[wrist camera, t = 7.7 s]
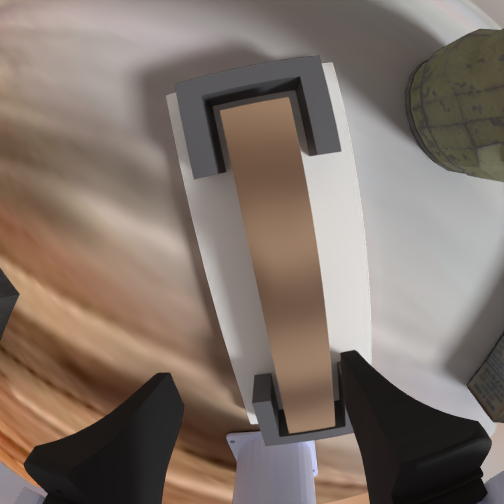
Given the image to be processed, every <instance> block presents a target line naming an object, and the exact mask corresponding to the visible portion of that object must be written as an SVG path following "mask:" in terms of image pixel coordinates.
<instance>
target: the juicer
mask: <svg viewBox="0 0 504 504" xmlns="http://www.w3.org/2000/svg"><path fill="white" fill-rule="evenodd" d="M18 297H19V293H18V291H17V290H16V289H15V287H14V286H13V285H12V284H11V282H10V281H9V280H8V278H7V277H6V275H5V274H4V273H3V271H2V270H1V268H0V339H1V337H2V334H3V332H4V329H5V327H6V324H7V322H8V319H9V317H10V315H11V312H12V310H13V308H14V305H15V303H16V301H17V299H18Z"/></svg>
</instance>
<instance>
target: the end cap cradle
mask: <svg viewBox="0 0 504 504" xmlns="http://www.w3.org/2000/svg"><path fill="white" fill-rule="evenodd" d="M174 85H175V91H176V92H175V93H172V94H169V95H166V99H167V104H168V109H169V115H170V120H171V125H172V130H173V135H174V140H175V145H176V149H177V154H178V159H179V164H180V168H181V173H182V177H183V182H184V186H185V191H186V195H187V199H188V204H189V208H190V212H191V216H192V220H193V225H194V229H195V233H196V237H197V241H198V245H199V249H200V253H201V257H202V261H203V264H204V268H205V272H206V276H207V280H208V283H209V287H210V291H211V295H212V298H213V302H214V305H215V309H216V313H217V316H218V320H219V323H220V327H221V330H222V334H223V337H224V340H225V344H226V347H227V351H228V354H229V357H230V361H231V364H232V367H233V370H234V374H235V377H236V380H237V383H238V387H239V390H240V393H241V396H242V399H243V402H244V405H245V408H246V411H247V414H248V418H249V421H250V424H259V428H260V431H261V434H262V437H263V440H264V443H265V446H274V445H283V444H291V443H299V442H306V441H313V440H319V439H325V438H330V437H336V436H341V435H346V434H350V433H354V431H353V428H352V425H351V422H350V419H349V416H348V413H347V410H346V406H345V402H344V397H343V392H342V378H341V356H340V353H341V352H346V351H351V350H356V351H358V353H359V354H360V355H361V356H362V357H363V358H364V359H365V360H366V361H367V362H368V363H369V364H370V365H371V308H370V288H369V273H368V260H367V249H366V239H365V230H364V221H363V213H362V205H361V198H360V191H359V184H358V178H357V171H356V165H355V160H354V154H353V149H352V143H351V138H350V133H349V128H348V123H347V119H346V114H345V109H344V105H343V101H342V97H341V92H340V88H339V84H338V80H337V76H336V73H335V69H334V65H333V62H328V63H321V59H320V56H319V55H318V56H309V57H300V58H293V59H285V60H279V61H272V62H266V63H261V64H255V65H250V66H245V67H240V68H236V69H231V70H227V71H222V72H218V73H214V74H210V75H206V76H202V77H199V78H195V79H191V80H188V81H184V82H181V83H178V84H174ZM286 97H289V100H290V104H291V108H292V113H293V117H294V122H295V126H296V131H297V136H298V141H299V146H300V151H301V156H302V161H303V166H304V171H305V176H306V182H307V187H308V193H309V199H310V205H311V210H312V216H313V223H314V229H315V235H316V242H317V249H318V255H319V262H320V270H321V277H322V285H323V293H324V301H325V309H326V318H327V327H328V337H329V347H330V358H331V370H332V383H333V397H334V413H335V426H333V427H328V428H322V429H317V430H310V431H304V432H297V433H289V431H288V426H287V422H286V417H285V412H284V408H283V403H282V399H281V394H280V389H279V385H278V380H277V376H276V371H275V366H274V362H273V357H272V352H271V348H270V343H269V338H268V334H267V329H266V324H265V320H264V315H263V311H262V306H261V301H260V297H259V292H258V287H257V283H256V278H255V273H254V269H253V264H252V259H251V255H250V250H249V245H248V241H247V236H246V231H245V227H244V222H243V217H242V212H241V208H240V203H239V198H238V194H237V189H236V184H235V180H234V175H233V170H232V165H231V161H230V156H229V151H228V147H227V142H226V137H225V132H224V128H223V123H222V118H221V114H220V111H221V110H225V109H229V108H234V107H238V106H243V105H248V104H253V103H258V102H263V101H268V100H274V99H280V98H286Z"/></svg>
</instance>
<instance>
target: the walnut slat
mask: <svg viewBox="0 0 504 504" xmlns="http://www.w3.org/2000/svg"><path fill="white" fill-rule="evenodd" d="M220 114H221V118H222V123H223V128H224V132H225V137H226V142H227V147H228V151H229V156H230V161H231V165H232V170H233V175H234V180H235V184H236V189H237V194H238V198H239V203H240V208H241V212H242V217H243V222H244V227H245V231H246V236H247V241H248V245H249V250H250V255H251V259H252V264H253V269H254V273H255V278H256V283H257V287H258V292H259V297H260V301H261V306H262V311H263V315H264V320H265V324H266V329H267V334H268V338H269V343H270V348H271V352H272V357H273V362H274V366H275V371H276V376H277V380H278V385H279V389H280V394H281V399H282V403H283V408H284V412H285V417H286V422H287V426H288V431H289V433H297V432H304V431H310V430H317V429H322V428H328V427H333V426H335V413H334V397H333V383H332V370H331V358H330V347H329V337H328V327H327V318H326V309H325V301H324V293H323V285H322V277H321V270H320V262H319V255H318V249H317V242H316V235H315V229H314V223H313V216H312V210H311V205H310V199H309V193H308V187H307V182H306V176H305V171H304V166H303V161H302V156H301V151H300V146H299V141H298V136H297V131H296V126H295V122H294V117H293V113H292V108H291V104H290V100H289V97H286V98H280V99H274V100H268V101H263V102H258V103H253V104H248V105H243V106H238V107H234V108H229V109H225V110H221V111H220Z"/></svg>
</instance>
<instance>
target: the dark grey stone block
mask: <svg viewBox="0 0 504 504" xmlns="http://www.w3.org/2000/svg"><path fill="white" fill-rule="evenodd" d="M467 387H468V389H469V390H470V392H471V393H472V394H473V396H474V397H475V398H476V400H477V401H478V403H479V404H480V405H481V407H482V408H483V410H484V411H485V412H486V414H487V415H488V416H489V418H490V419H491V420H492V421H493V422H500V423H504V334H503V336H502V337H501V339H500V340H499V342H498V343H497V345H496V346H495V348H494V349H493V351H492V353H491V354H490V356H489V357H488V358H487V360H486V361H485V363H484V364H483V365H482V367H481V368H480V369H479V371H478V372H477V373H476V375H475V376H474V377H473V379H472V380H471V381H470V382H469V384H468V385H467Z"/></svg>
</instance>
